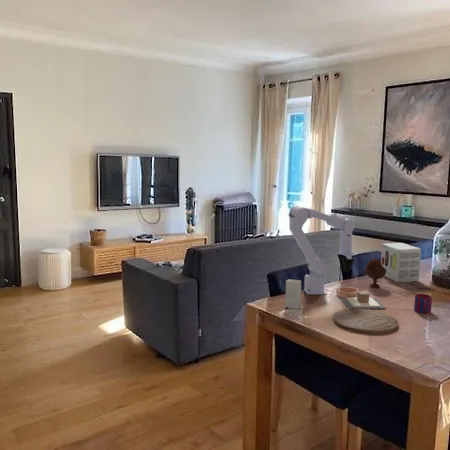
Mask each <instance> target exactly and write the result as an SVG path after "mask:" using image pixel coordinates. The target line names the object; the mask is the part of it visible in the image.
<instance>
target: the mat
mask: <svg viewBox="0 0 450 450" xmlns="http://www.w3.org/2000/svg"><path fill="white" fill-rule="evenodd" d="M373 299H374V300H375V301H376V302H377V303H378V304H379V305H380V307H353V306H352V305H351V304H350V303H349V302H348V300H347V299H345V298H341V299H340V300H341V302H342V304H344V305H345V307H346V308H347V307H348V308H347V309H369V310H386V307H385V306H384V305H383V304H382V303H381V302H380V301H378V299H377V298H373Z"/></svg>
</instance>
